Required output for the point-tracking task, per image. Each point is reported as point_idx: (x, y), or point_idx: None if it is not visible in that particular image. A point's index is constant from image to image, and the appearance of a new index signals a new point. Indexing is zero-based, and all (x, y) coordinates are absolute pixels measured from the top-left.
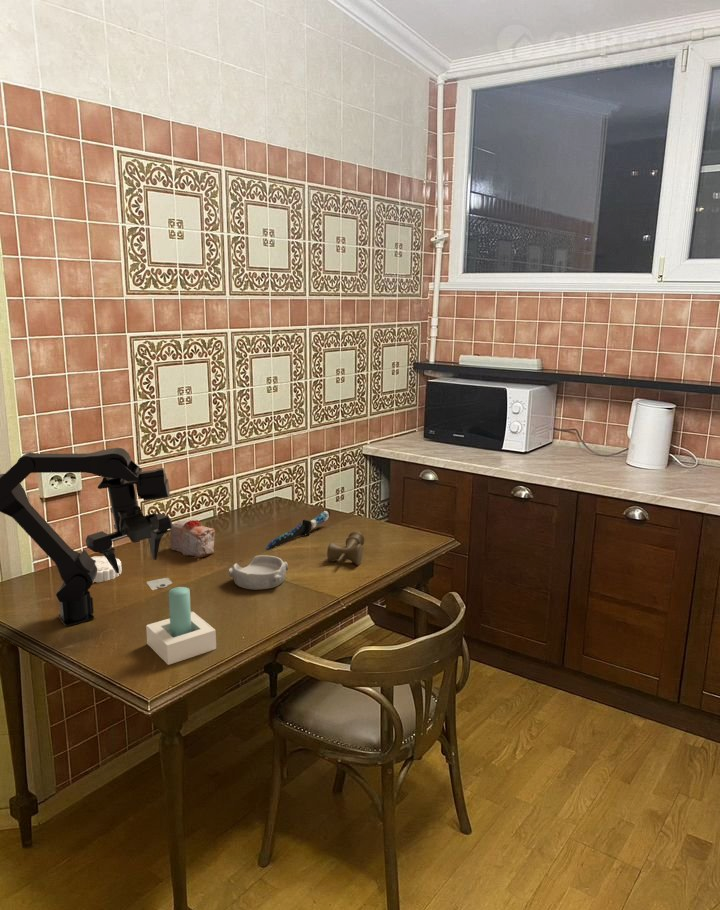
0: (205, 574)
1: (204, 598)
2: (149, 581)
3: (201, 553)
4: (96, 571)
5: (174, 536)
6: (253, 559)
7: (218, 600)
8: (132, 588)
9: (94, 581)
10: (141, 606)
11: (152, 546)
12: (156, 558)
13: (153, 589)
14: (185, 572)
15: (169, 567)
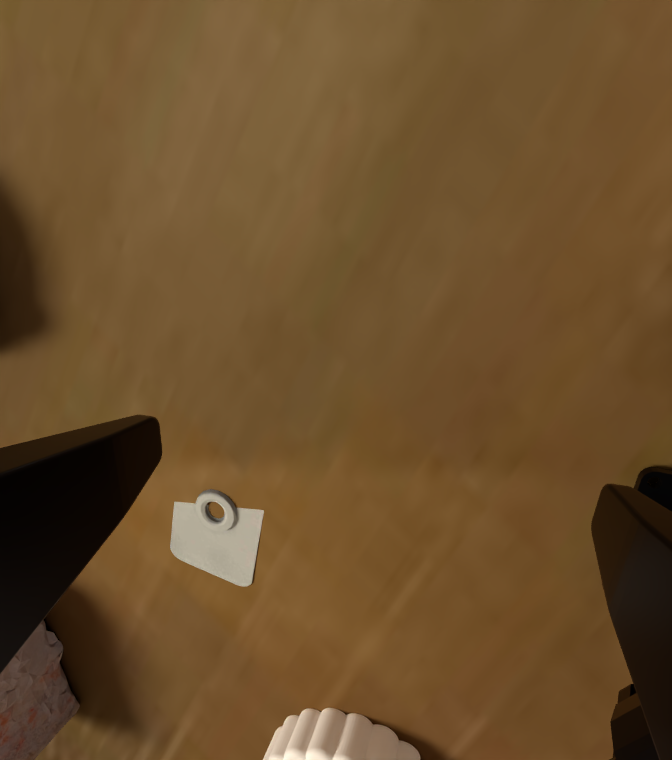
0: None
1: (128, 275)
2: (237, 581)
3: None
4: (640, 743)
5: (20, 743)
6: None
7: (89, 210)
8: (317, 587)
9: (406, 748)
10: (376, 414)
11: (26, 541)
12: (131, 417)
13: (256, 514)
14: None
15: (133, 614)
